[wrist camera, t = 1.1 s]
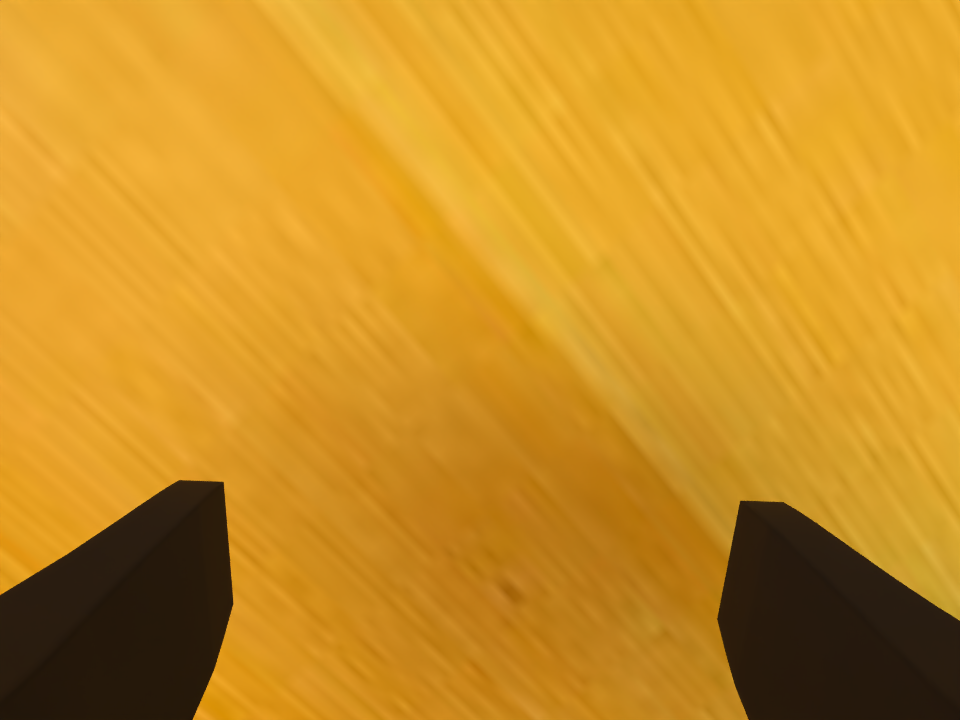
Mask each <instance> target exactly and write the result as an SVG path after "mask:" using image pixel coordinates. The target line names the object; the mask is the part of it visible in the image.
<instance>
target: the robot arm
mask: <svg viewBox="0 0 960 720" xmlns="http://www.w3.org/2000/svg"><path fill="white" fill-rule="evenodd" d="M232 606H233V592H232V580H231V568H230V555H229V543H228V531H227V518H226V506H225V494H224V482H212V481H185V480H179V481H177V482H175V483H174V484H172V485H170V486H169V487H167V488H165V489H164V490H162V491H161V492H159V493H158V494H156V495H155V496H153V497H152V498H150V499H149V500H147V501H146V502H144V503H143V504H141V505H140V506H138V507H137V508H135V509H134V510H132V511H131V512H130V513H128V514H127V515H125V516H124V517H122V518H121V519H119V520H118V521H116V522H115V523H113V524H112V525H110V526H109V527H107V528H106V529H104V530H103V531H101V532H100V533H98V534H97V535H95V536H94V537H92V538H91V539H90V540H88V541H87V542H85V543H84V544H82V545H81V546H79V547H78V548H76V549H75V550H73V551H72V552H70V553H68V554H67V555H65V556H64V557H62V558H60V559H59V560H57V561H56V562H54V563H52V564H51V565H49V566H47V567H46V568H44V569H42V570H41V571H39V572H37V573H36V574H34V575H33V576H31V577H29V578H28V579H26V580H24V581H23V582H21V583H19V584H18V585H16V586H15V587H13V588H11V589H10V590H8V591H6V592H5V593H3V594H1V595H0V720H193V717H194V715H195V713H196V710H197V708H198V706H199V704H200V701H201V699H202V697H203V694H204V692H205V690H206V687H207V685H208V683H209V680H210V678H211V676H212V673H213V671H214V668H215V665H216V662H217V658H218V655H219V652H220V649H221V645H222V642H223V639H224V635H225V632H226V628H227V624H228V621H229V617H230V614H231V610H232ZM717 620H718V624H719V628H720V632H721V636H722V640H723V644H724V648H725V652H726V655H727V659H728V663H729V666H730V670H731V673H732V677H733V680H734V684H735V686H736V689H737V692H738V694H739V697H740V699H741V702H742V704H743V706H744V709H745V711H746V714H747V716H748V719H749V720H960V621H959V620H958V619H956V618H954V617H953V616H951V615H950V614H948V613H946V612H945V611H943V610H942V609H940V608H938V607H937V606H935V605H934V604H932V603H931V602H929V601H928V600H926V599H925V598H923V597H922V596H920V595H919V594H917V593H916V592H914V591H913V590H911V589H910V588H908V587H907V586H905V585H904V584H902V583H901V582H899V581H898V580H896V579H895V578H894V577H892V576H891V575H889V574H888V573H886V572H885V571H884V570H882V569H881V568H879V567H878V566H876V565H875V564H873V563H872V562H871V561H869V560H868V559H866V558H865V557H864V556H862V555H861V554H859V553H858V552H856V551H855V550H854V549H852V548H851V547H849V546H848V545H847V544H845V543H844V542H842V541H841V540H840V539H838V538H837V537H835V536H834V535H833V534H831V533H830V532H828V531H827V530H825V529H824V528H823V527H821V526H820V525H818V524H817V523H815V522H814V521H812V520H811V519H810V518H808V517H807V516H805V515H804V514H802V513H800V512H799V511H797V510H796V509H794V508H792V507H791V506H789V505H787V504H786V503H784V502H761V501H740V505H739V510H738V515H737V520H736V526H735V531H734V536H733V541H732V546H731V551H730V556H729V561H728V567H727V572H726V577H725V582H724V587H723V592H722V597H721V603H720V608H719V613H718V618H717Z"/></svg>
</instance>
